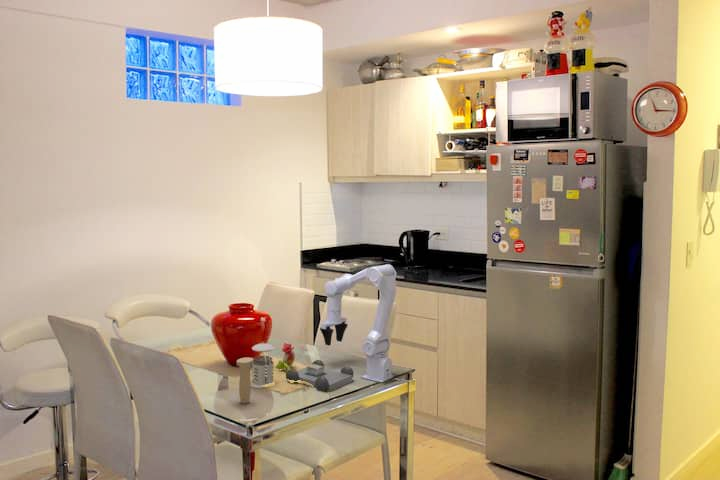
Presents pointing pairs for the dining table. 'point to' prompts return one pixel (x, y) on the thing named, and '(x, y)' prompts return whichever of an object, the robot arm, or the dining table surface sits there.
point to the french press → (262, 365)
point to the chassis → (323, 377)
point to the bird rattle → (286, 358)
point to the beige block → (315, 370)
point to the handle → (245, 378)
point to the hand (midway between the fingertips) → (333, 343)
